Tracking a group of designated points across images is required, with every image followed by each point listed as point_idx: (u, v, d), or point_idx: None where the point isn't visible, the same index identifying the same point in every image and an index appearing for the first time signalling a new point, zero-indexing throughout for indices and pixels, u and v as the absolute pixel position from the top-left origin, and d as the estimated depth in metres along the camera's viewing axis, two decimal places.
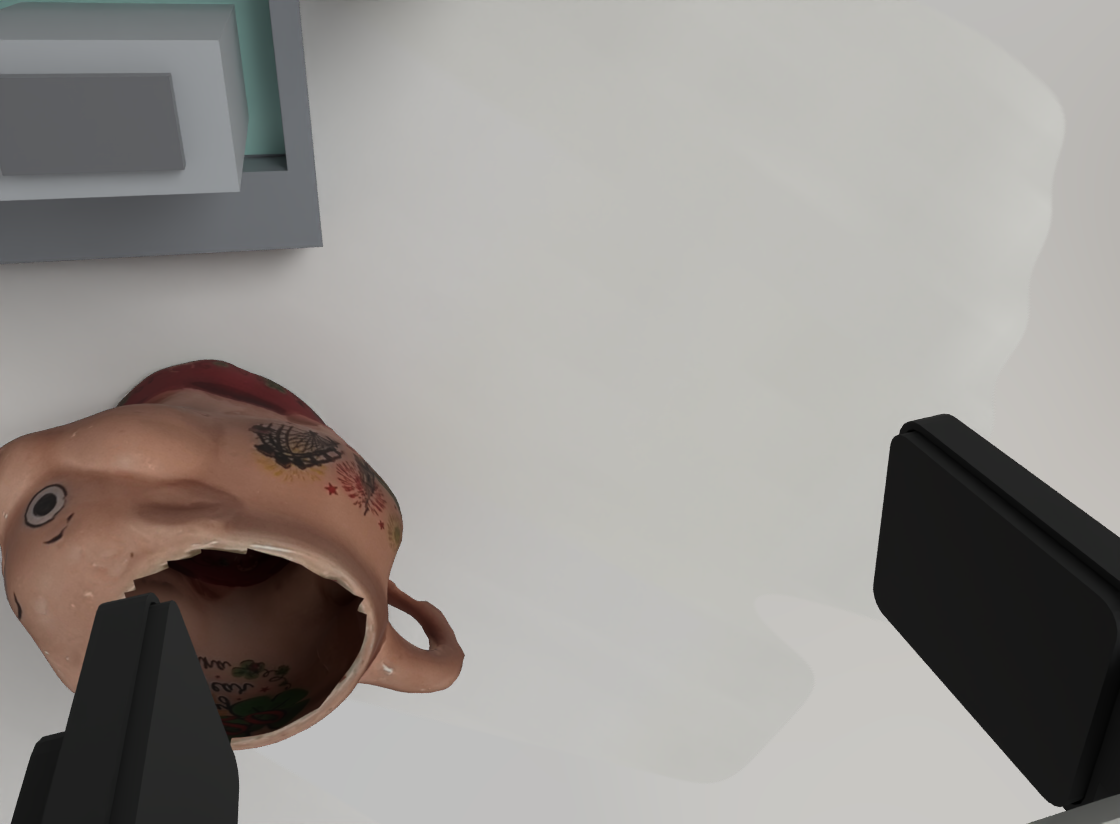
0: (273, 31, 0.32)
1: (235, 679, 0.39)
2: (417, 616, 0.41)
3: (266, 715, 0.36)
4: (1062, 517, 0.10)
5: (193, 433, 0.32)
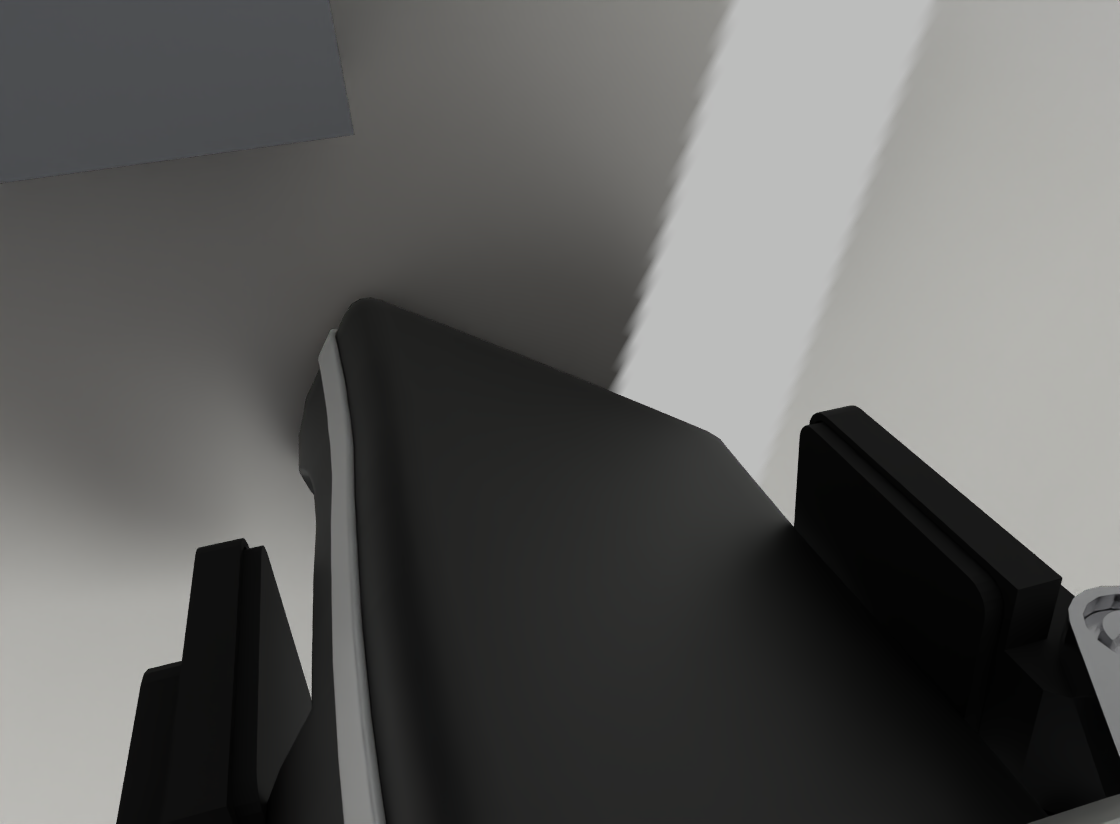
0: None
1: None
2: None
3: None
4: (945, 503, 0.10)
5: None
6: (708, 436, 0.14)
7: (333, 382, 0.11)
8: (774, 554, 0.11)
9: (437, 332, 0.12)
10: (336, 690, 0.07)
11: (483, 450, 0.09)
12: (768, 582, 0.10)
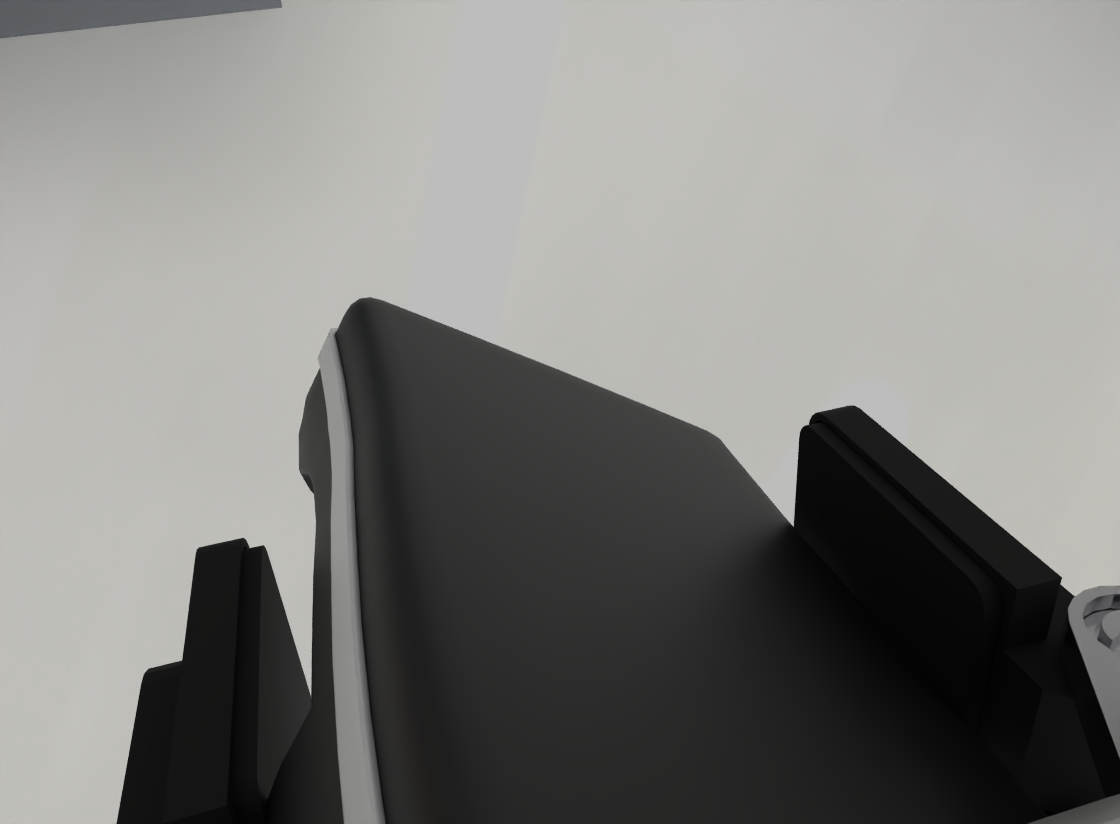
0: None
1: None
2: None
3: None
4: (944, 503, 0.10)
5: None
6: (707, 435, 0.14)
7: (333, 382, 0.11)
8: (773, 553, 0.11)
9: (436, 332, 0.12)
10: (335, 688, 0.07)
11: (482, 450, 0.09)
12: (767, 581, 0.10)
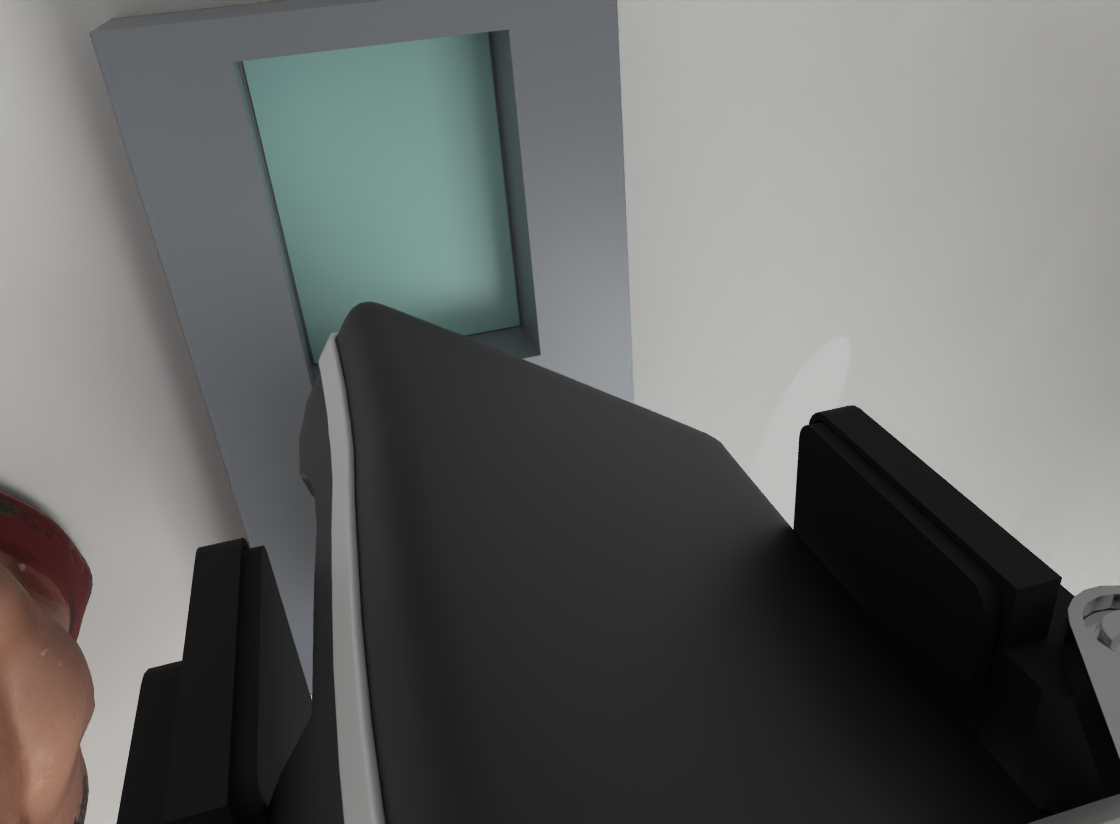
0: None
1: None
2: None
3: None
4: (945, 503, 0.10)
5: (74, 756, 0.24)
6: (708, 439, 0.14)
7: (333, 386, 0.11)
8: (774, 557, 0.11)
9: (437, 336, 0.12)
10: (336, 695, 0.07)
11: (482, 455, 0.09)
12: (768, 585, 0.10)
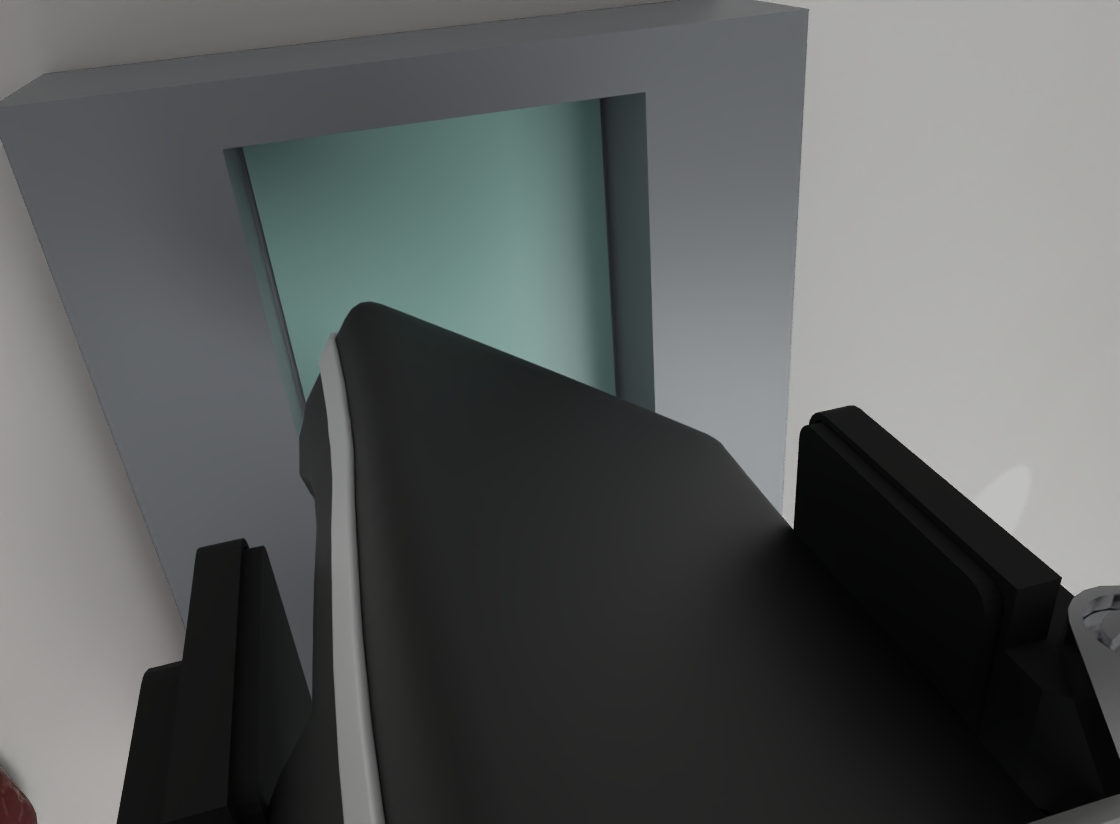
0: None
1: None
2: None
3: None
4: (945, 503, 0.10)
5: None
6: (708, 439, 0.14)
7: (333, 386, 0.11)
8: (774, 558, 0.11)
9: (437, 336, 0.12)
10: (336, 696, 0.07)
11: (483, 454, 0.09)
12: (768, 586, 0.10)
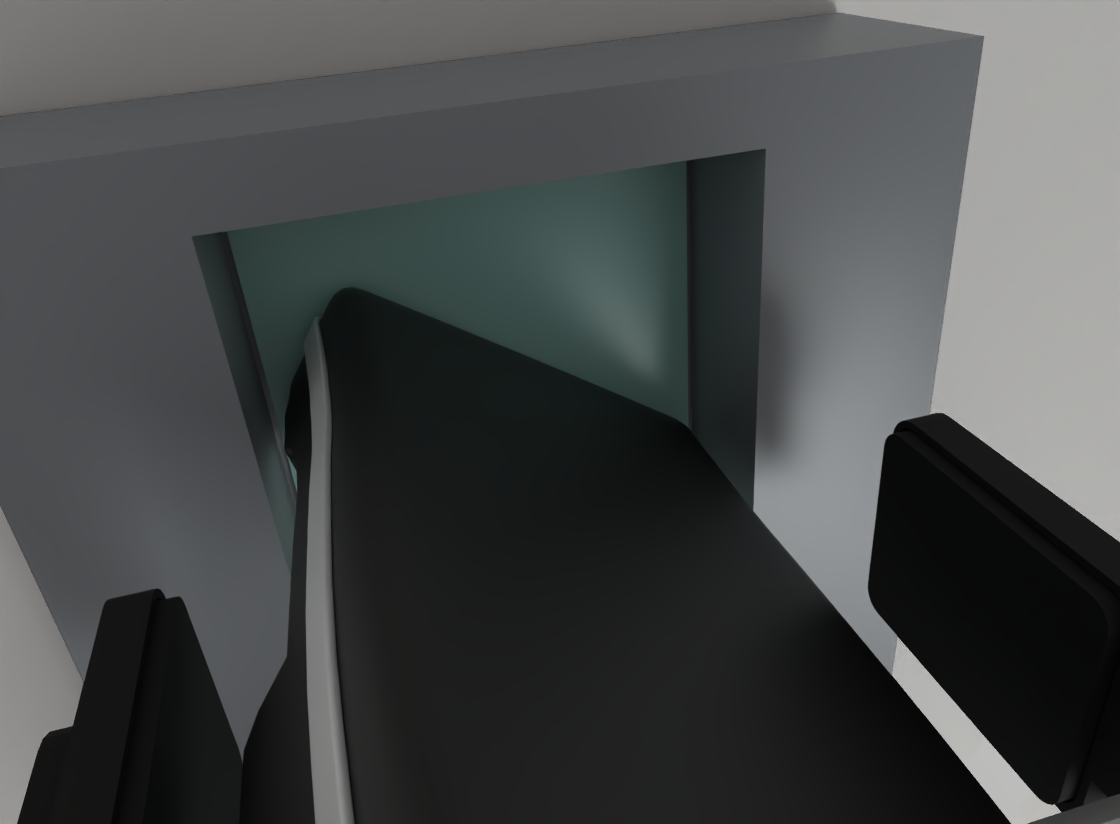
0: None
1: None
2: None
3: None
4: (1054, 516, 0.10)
5: None
6: (675, 423, 0.15)
7: (316, 365, 0.12)
8: (727, 530, 0.12)
9: (415, 320, 0.13)
10: (307, 634, 0.08)
11: (451, 427, 0.10)
12: (717, 553, 0.11)
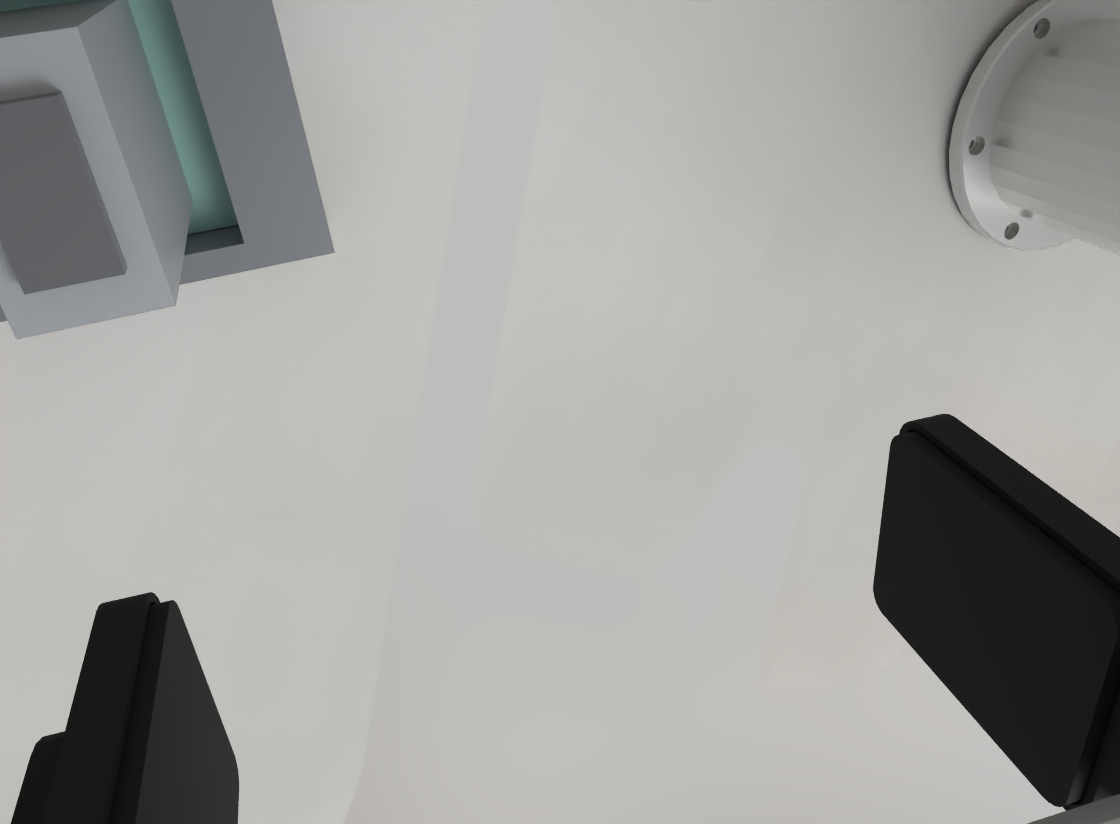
0: None
1: None
2: None
3: None
4: (1062, 517, 0.10)
5: None
6: None
7: None
8: None
9: None
10: None
11: None
12: None
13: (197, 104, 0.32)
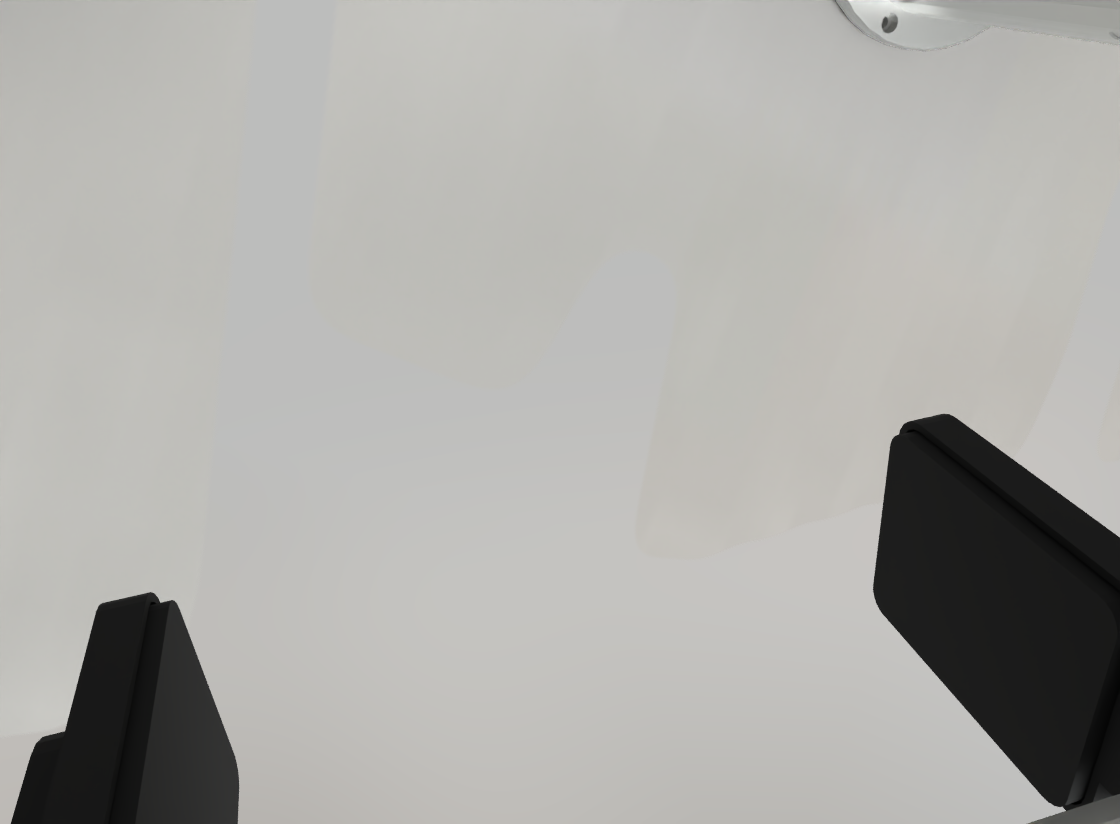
0: None
1: None
2: None
3: None
4: (1062, 517, 0.10)
5: None
6: None
7: None
8: None
9: None
10: None
11: None
12: None
13: None
